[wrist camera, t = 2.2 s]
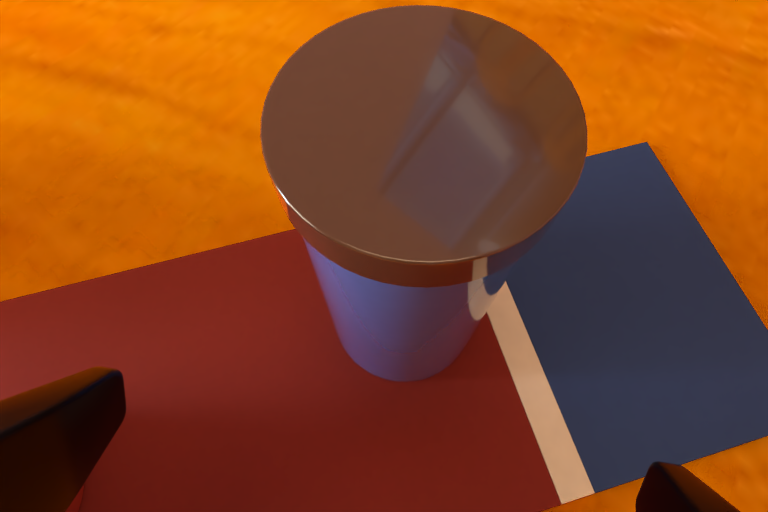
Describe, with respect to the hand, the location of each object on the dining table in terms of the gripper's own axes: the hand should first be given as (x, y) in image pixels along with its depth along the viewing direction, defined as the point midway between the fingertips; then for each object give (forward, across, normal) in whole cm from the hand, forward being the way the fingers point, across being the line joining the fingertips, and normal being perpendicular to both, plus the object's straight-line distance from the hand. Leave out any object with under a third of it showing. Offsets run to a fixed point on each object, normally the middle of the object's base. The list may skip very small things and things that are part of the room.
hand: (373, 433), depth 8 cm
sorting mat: (+11, +3, +7) cm, 13 cm away
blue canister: (+13, 0, +4) cm, 13 cm away
